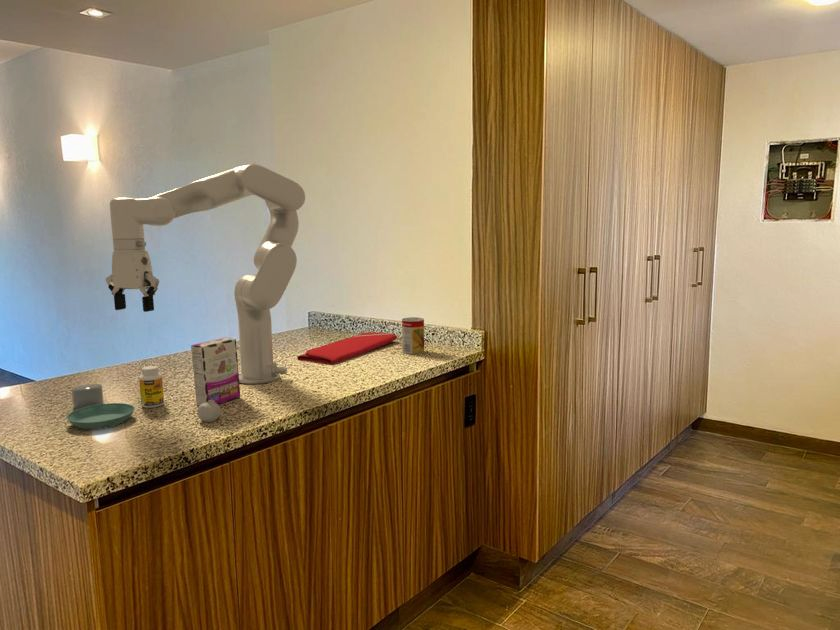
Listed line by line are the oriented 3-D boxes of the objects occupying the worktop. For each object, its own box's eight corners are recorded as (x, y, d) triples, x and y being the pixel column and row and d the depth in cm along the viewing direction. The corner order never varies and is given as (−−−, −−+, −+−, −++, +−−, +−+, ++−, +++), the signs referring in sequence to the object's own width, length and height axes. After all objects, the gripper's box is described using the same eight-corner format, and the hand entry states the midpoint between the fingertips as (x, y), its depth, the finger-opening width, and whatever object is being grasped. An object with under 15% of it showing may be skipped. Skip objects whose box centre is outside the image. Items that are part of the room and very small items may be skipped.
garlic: (226, 420, 150) (225, 399, 149) (205, 426, 146) (204, 404, 145) (213, 415, 153) (212, 395, 153) (193, 420, 149) (191, 400, 149)
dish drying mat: (296, 361, 211) (295, 350, 211) (365, 339, 246) (364, 330, 246) (332, 366, 204) (332, 355, 203) (398, 343, 239) (398, 333, 238)
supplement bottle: (143, 410, 158) (140, 371, 156) (139, 404, 163) (136, 366, 161) (166, 406, 161) (163, 368, 159) (162, 401, 166) (159, 363, 164)
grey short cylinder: (109, 402, 165) (107, 384, 165) (93, 410, 158) (91, 391, 158) (84, 401, 166) (82, 383, 165) (67, 410, 159) (65, 391, 158)
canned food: (428, 351, 222) (428, 318, 220) (416, 355, 216) (416, 321, 214) (410, 348, 226) (409, 316, 224) (398, 353, 220) (397, 319, 218)
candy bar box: (228, 394, 171) (224, 336, 168) (241, 397, 168) (237, 338, 165) (194, 405, 161) (190, 344, 159) (207, 408, 159) (203, 346, 156)
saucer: (59, 435, 141) (58, 424, 140) (76, 416, 155) (75, 406, 154) (130, 429, 145) (129, 418, 144) (139, 410, 159) (139, 400, 158)
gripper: (165, 245, 162) (170, 309, 165) (115, 244, 168) (121, 306, 171) (143, 246, 155) (149, 313, 158) (92, 246, 161) (98, 310, 164)
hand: (134, 310), depth 165 cm, fingers open, 9 cm apart
